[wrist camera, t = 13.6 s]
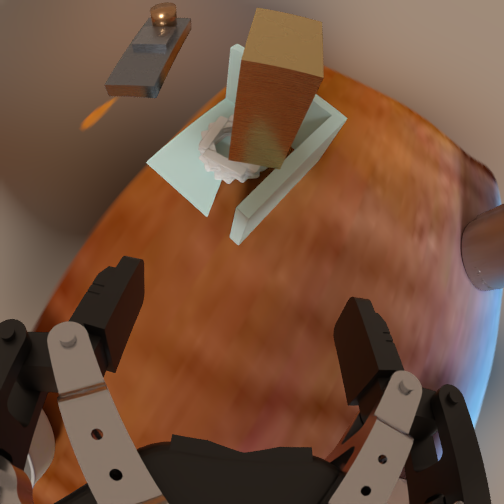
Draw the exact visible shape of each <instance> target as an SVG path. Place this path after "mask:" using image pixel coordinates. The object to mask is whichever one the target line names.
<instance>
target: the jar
mask: <svg viewBox="0 0 504 504" xmlns="http://www.w3.org/2000/svg"><path fill="white" fill-rule="evenodd" d="M386 504H409V496H408V488H407V480H405V479H401V478H398V480H397V483H396V485H395V487H394V489H393V491H392V493H391V495H390V497H389V499H388V501H387V503H386Z"/></svg>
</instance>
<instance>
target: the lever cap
mask: <svg viewBox="0 0 504 504" xmlns="http://www.w3.org/2000/svg"><path fill="white" fill-rule="evenodd" d="M322 80H323V35H322V22H319V21H316V20H312V19H308V18H304V17H301V16H296V15H292V14H288V13H283V12H278V11H272V10H267V9H262V8H257V9H256V12H255V16H254V19H253V22H252V25H251V28H250V32H249V35H248V39H247V42H246V45H245V49H244V52H243V56H242V59H241V65H240V72H239V79H238V87H237V94H236V102H235V109H234V117H233V125H232V133H231V141H230V150H229V159H228V160H231V161H237V162H243V163H248V164H254V165H259V166H265V167H270V168H275V169H281V166H282V164H283V162H284V160H285V158H286V156H287V154H288V151H289V149H290V147H291V145H292V143H293V141H294V139H295V137H296V134H297V132H298V130H299V128H300V126H301V124H302V122H303V120H304V118H305V115H306V113H307V111H308V109H309V107H310V105H311V103H312V101H313V99H314V97H315V94H316V92H317V90H318V88H319V86H320V84H321V82H322Z"/></svg>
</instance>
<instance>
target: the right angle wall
mask: <svg viewBox="0 0 504 504" xmlns="http://www.w3.org/2000/svg"><path fill="white" fill-rule="evenodd" d="M244 49H245V48H244V47H242V46H241V45H239V44H236V45H235V46H232V47H231V49H230V59H229V68H228V79H227V89H226V98H225V99H224V100H222V101H221V102H219V103H218V104H217V105H215V106H214V107H213V108H211V109H210V110H209V111H207V112H206V113H205V114H203V115H202V116H201V117H200V118H198V119H197V120H196V121H194V122H193V123H192V124H191V125H189V126H188V127H187V128H186V129H184V130H183V131H182V132H181V133H179V134H178V135H177V136H176V137H175V138H173V139H172V140H171V141H170V142H169V143H168V144H166V145H165V146H164V147H163V148H162V149H161V150H159V151H158V152H157V153H156V154H155V155H154V156H153V157H151V158H150V159H149V160H148V161H147V162H146V163H147V164H148V165H149V166H151V167H152V168H153V169H154V170H155V171H156V172H157V173H158V174H159V175H161V176H162V177H163V178H164V179H165V180H166V181H167V182H168V183H169V184H171V185H172V186H173V187H174V188H175V189H176V190H177V191H178V192H179V193H181V194H182V195H183V196H184V197H185V198H186V199H187V200H188V201H189V202H191V203H192V204H193V205H194V206H195V207H196V208H197V209H198V210H199V211H201V212H202V213H203V214H204V215H205V216H206V217H208V214H209V211H210V209H211V206H212V204H213V201H214V198H215V196H216V193H217V191H218V188H219V186H220V183H221V180H224V181H225V182H226V183H227V184H230V183H231V182H232V181H233V180H234V179H237V180H239V181H240V182H241V183H244V182H245V181H246V180H247V179H253V178H258V177H260V172H261V171H265V169H267V168H268V167H265V166H259V165H254V164H248V163H243V162H237V161H231V160H228V159H229V150H230V141H231V133H232V125H233V117H234V109H235V102H236V94H237V87H238V79H239V72H240V65H241V59H242V56H243V52H244ZM346 120H347V118H346V117H345V116H344V115H343V114H341V113H340V112H339V111H338V110H336V109H335V108H334V107H332V106H331V105H330V104H329V103H327V102H326V101H325V100H323V99H322V98H321V97H319V96H318V95H317V94H315V97H314V99H313V101H312V103H311V105H310V107H309V109H308V111H307V113H306V115H305V118H304V120H303V122H302V124H301V126H300V128H299V130H298V132H297V134H296V137H295V139H294V141H293V143H292V145H291V147H292V148H293V149H294V151H293V152H292V153H291V154H290V155H289V156H288V157H287V158H286V159H285V160H284V162H283V164H282V166H281V169H274V170H273V171H272V172H271V173H270V174H269V175H268V176H267V177H266V178H265V179H264V180H263V181H262V182H261V183H260V184H259V185H258V186H257V187H256V188H255V189H254V190H253V191H252V192H251V193H250V194H249V195H248V196H247V197H246V198H245V199H244V200H243V201H242V202H241V203H240V204H239V205H238V206H237V207H236V210H235V215H234V219H233V224H232V229H231V233H230V238H231V239H232V240H233V241H234V242H235V243H236V244H237V245H240V244H241V242H242V241H243V240H244V239H245V238H246V237H247V236H248V235H249V234H250V233H251V232H252V231H253V230H254V228H255V227H256V226H257V225H258V224H259V223H260V222H261V221H262V220H263V219H264V218H265V217H266V216H267V215H268V214H269V212H270V211H271V210H272V209H273V208H274V207H275V206H276V205H277V204H278V203H279V202H280V201H281V200H282V199H283V198H284V197H285V196H286V194H287V193H288V192H289V191H290V190H291V189H292V188H293V187H294V186H295V185H296V184H297V183H298V182H299V181H300V180H301V179H302V178H303V177H304V175H305V174H306V173H307V172H308V171H309V170H310V169H311V168H312V167H313V166H314V165H315V164H316V163H317V162H318V161H319V159H320V158H321V156H322V155H323V154H324V152H325V151H326V149H327V148H328V146H329V145H330V143H331V142H332V140H333V139H334V137H335V136H336V135H337V133H338V132H339V130H340V129H341V127H342V126H343V124H344V123H345V121H346Z"/></svg>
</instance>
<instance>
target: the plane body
mask: <svg viewBox="0 0 504 504" xmlns="http://www.w3.org/2000/svg"><path fill="white" fill-rule="evenodd" d="M150 12H151V18H149V19H148V20H147V21H146V23H145V24H144V25H143V27H142V28H141V30H140V31H139V32H138V34H137V35H136V36H135V38H134V39H133V41H132V42H131V44H130V45H129V47H128V48H127V50H126V51H125V53H124V54H123V56H122V57H121V59H120V60H119V62H118V63H117V65H116V67H115V68H114V70H113V72H112V73H111V75H110V77H109V78H108V80H107V82H106V83H105V87H106V90H107V92H108V95H109V96H130V97H148V98H156V97H157V96H158V93H159V91H160V89H161V87H162V85H163V83H164V80H165V78H166V76H167V74H168V72H169V70H170V68H171V66H172V64H173V62H174V60H175V58H176V56H177V54H178V52H179V51H180V49H181V47H182V45H183V43H184V41H185V39H186V37H187V36H188V34H189V32H190V30H191V19H190V18H177V17H176V5H175V4H173V3H160V4H157V5H155V6H153V7H152V8H151V10H150Z"/></svg>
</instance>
